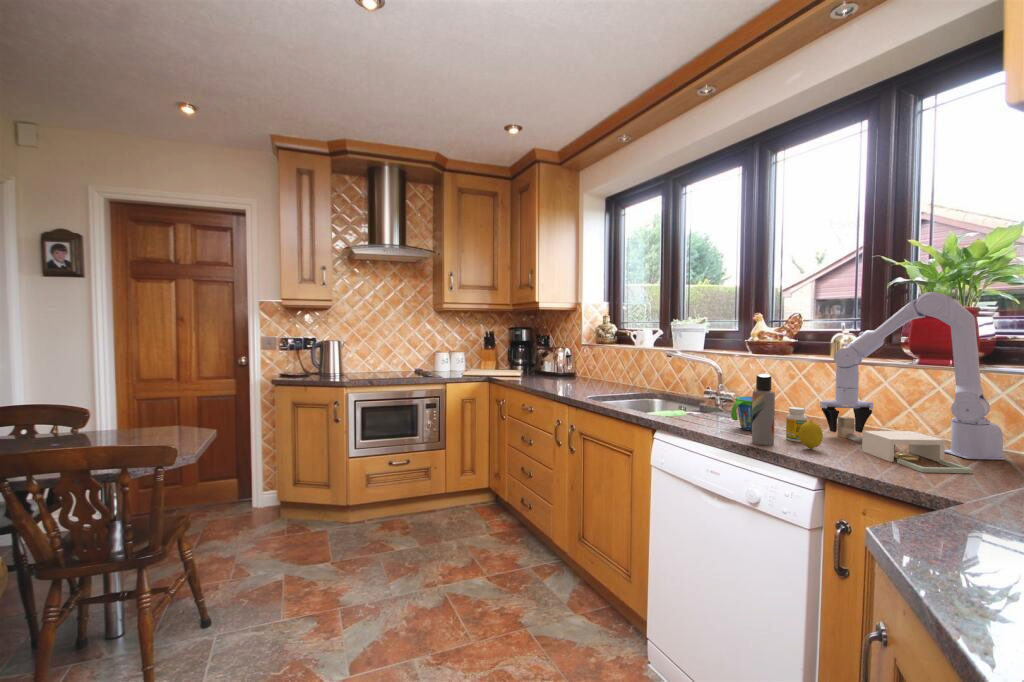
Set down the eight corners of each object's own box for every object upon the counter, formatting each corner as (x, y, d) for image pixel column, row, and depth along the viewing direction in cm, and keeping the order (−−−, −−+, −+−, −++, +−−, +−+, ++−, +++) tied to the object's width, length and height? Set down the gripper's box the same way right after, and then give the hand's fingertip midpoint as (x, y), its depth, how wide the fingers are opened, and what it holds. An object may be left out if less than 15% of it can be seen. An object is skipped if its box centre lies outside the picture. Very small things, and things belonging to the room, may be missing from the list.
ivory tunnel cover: (912, 452, 127) (912, 431, 127) (944, 462, 117) (944, 440, 117) (862, 451, 128) (862, 430, 128) (889, 461, 118) (889, 439, 118)
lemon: (826, 452, 127) (826, 423, 126) (803, 451, 128) (804, 422, 127) (817, 447, 132) (817, 419, 132) (795, 446, 133) (796, 418, 133)
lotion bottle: (773, 442, 138) (774, 374, 137) (774, 446, 133) (776, 375, 132) (751, 440, 140) (752, 373, 140) (752, 444, 135) (753, 374, 134)
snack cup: (741, 433, 150) (742, 401, 149) (721, 426, 160) (722, 396, 160) (785, 431, 152) (786, 400, 152) (763, 425, 162) (763, 395, 162)
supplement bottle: (796, 437, 144) (797, 406, 144) (811, 441, 139) (812, 409, 138) (781, 438, 143) (782, 407, 142) (796, 442, 137) (796, 410, 137)
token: (908, 457, 124) (908, 452, 123) (923, 462, 119) (924, 457, 118) (888, 456, 124) (888, 452, 124) (903, 462, 119) (903, 457, 119)
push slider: (833, 435, 147) (833, 416, 146) (851, 436, 146) (852, 416, 146) (873, 450, 129) (874, 428, 129) (895, 450, 128) (895, 429, 128)
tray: (942, 463, 116) (942, 459, 116) (971, 473, 109) (971, 469, 109) (897, 462, 117) (897, 458, 117) (922, 472, 109) (922, 468, 109)
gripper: (862, 386, 148) (861, 429, 148) (814, 385, 149) (813, 428, 149) (878, 389, 141) (877, 434, 141) (828, 388, 142) (827, 433, 142)
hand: (845, 431), depth 145 cm, fingers open, 7 cm apart
